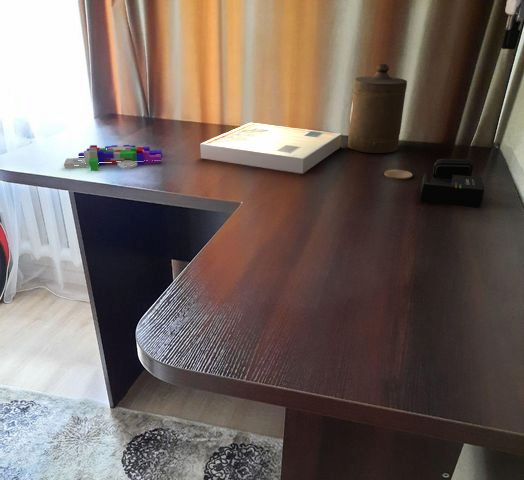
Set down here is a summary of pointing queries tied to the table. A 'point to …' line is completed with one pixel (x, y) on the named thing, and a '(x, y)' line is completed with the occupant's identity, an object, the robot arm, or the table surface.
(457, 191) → the battery charger
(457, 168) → the webcam
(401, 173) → the coaster
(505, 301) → the table surface
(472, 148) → the table surface
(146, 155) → the building block set
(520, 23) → the robot arm
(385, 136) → the wooden container
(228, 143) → the flat white box
